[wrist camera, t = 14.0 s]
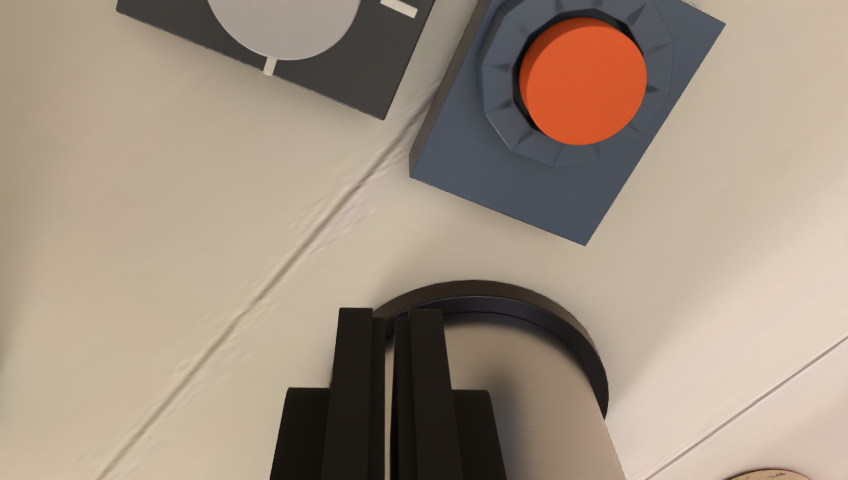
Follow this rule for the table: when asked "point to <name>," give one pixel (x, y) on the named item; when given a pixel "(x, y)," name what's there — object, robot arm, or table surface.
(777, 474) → the teacup with lid
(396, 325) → the robot arm
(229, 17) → the dial
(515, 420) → the kettle
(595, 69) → the button
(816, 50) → the table surface
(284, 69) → the console
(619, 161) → the button housing
